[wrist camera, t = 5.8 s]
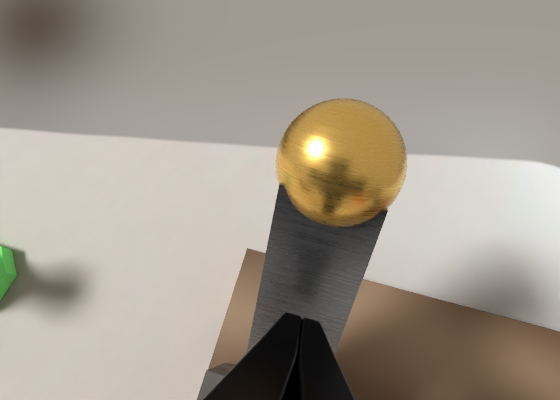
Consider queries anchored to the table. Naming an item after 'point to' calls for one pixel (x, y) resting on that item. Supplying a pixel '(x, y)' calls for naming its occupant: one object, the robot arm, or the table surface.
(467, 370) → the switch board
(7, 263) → the game piece
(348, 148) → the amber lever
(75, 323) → the table surface
